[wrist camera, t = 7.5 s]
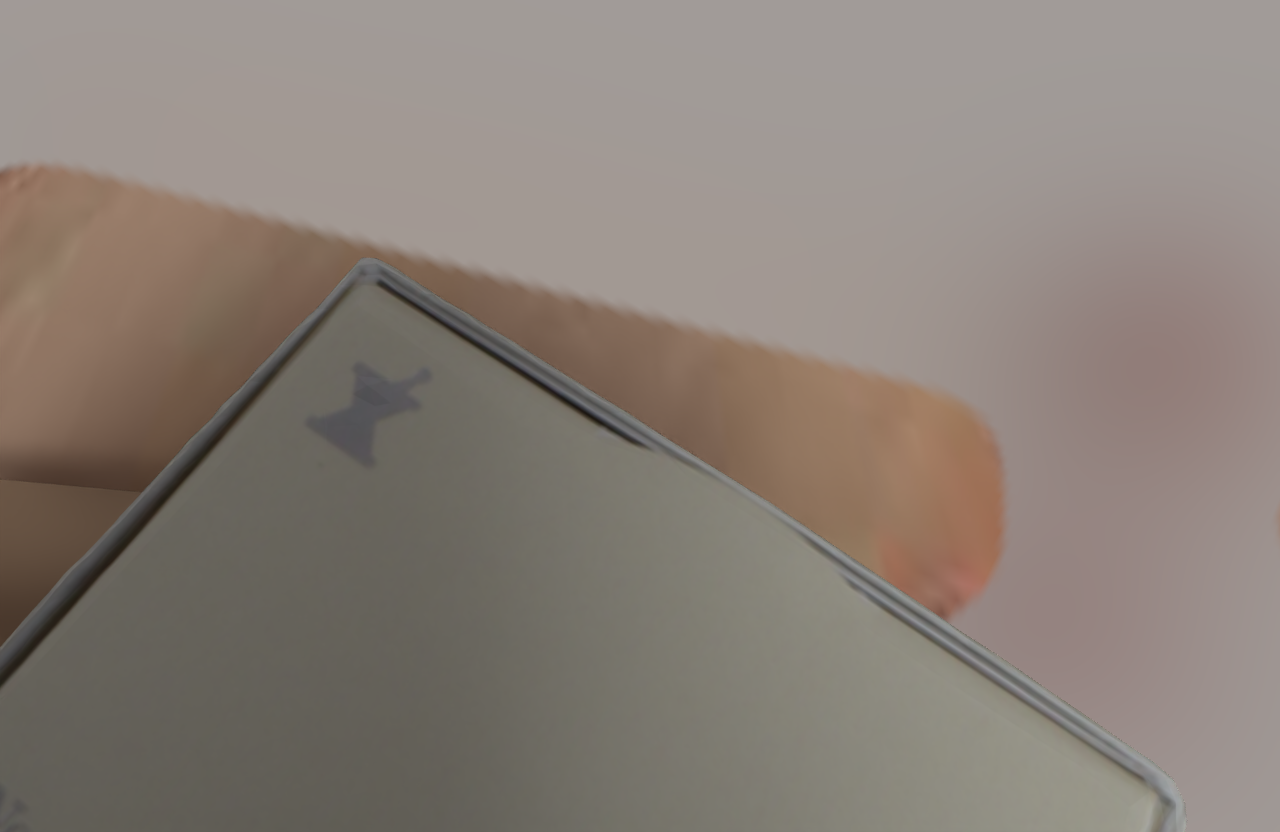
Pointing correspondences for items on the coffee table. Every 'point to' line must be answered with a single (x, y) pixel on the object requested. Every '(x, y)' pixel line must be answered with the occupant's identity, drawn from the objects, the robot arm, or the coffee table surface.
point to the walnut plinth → (47, 539)
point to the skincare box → (506, 630)
